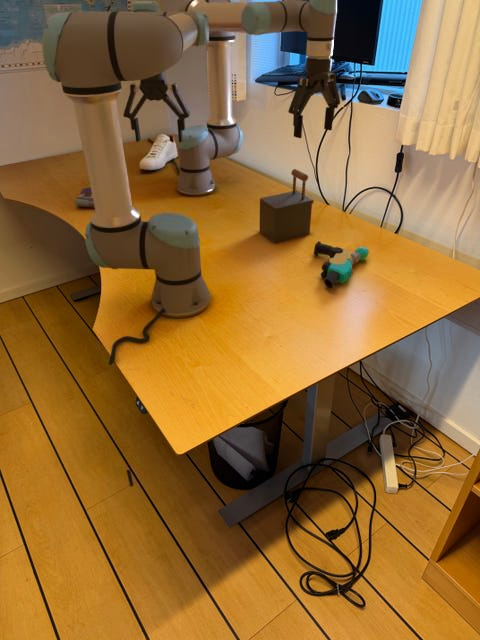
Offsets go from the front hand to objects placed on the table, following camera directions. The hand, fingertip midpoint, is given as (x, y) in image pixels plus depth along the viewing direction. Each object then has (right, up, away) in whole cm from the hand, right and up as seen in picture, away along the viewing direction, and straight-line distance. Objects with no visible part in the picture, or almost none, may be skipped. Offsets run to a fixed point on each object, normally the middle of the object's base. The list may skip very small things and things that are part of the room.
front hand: (159, 141), depth 150 cm
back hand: (+48, +2, 0) cm, 48 cm away
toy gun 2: (+52, -42, -12) cm, 68 cm away
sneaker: (-12, +15, +68) cm, 71 cm away
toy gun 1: (-27, -12, +31) cm, 43 cm away
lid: (+40, -19, +2) cm, 44 cm away
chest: (+40, -28, +9) cm, 49 cm away
